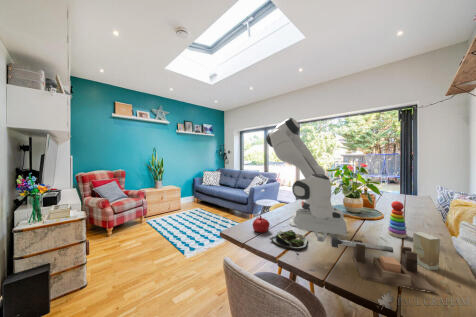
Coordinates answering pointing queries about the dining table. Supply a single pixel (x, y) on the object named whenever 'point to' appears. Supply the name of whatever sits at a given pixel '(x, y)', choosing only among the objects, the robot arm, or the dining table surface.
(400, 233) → the stacking toy
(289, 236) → the salad plate
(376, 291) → the dining table surface
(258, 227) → the pomegranate
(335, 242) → the shaft
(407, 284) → the bearing bracket
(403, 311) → the dining table surface
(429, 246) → the skincare box
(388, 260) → the block
